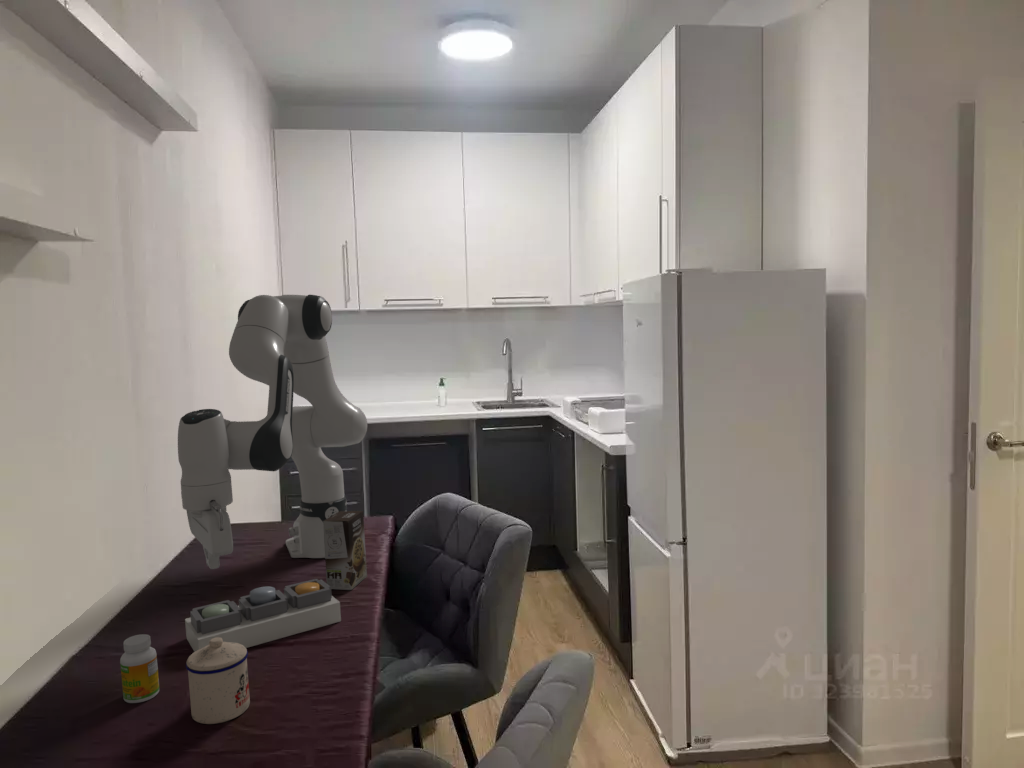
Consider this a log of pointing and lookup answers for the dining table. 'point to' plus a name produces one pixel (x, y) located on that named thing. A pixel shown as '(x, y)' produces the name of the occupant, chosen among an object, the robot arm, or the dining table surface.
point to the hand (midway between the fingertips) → (213, 566)
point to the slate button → (262, 595)
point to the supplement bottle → (139, 669)
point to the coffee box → (345, 549)
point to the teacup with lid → (218, 681)
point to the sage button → (215, 610)
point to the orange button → (306, 588)
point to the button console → (265, 617)
